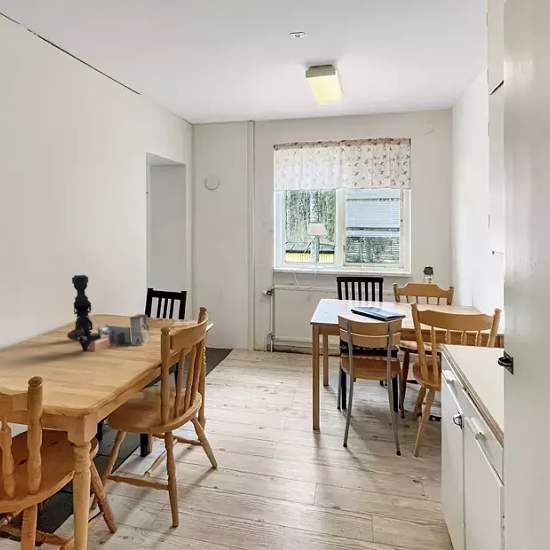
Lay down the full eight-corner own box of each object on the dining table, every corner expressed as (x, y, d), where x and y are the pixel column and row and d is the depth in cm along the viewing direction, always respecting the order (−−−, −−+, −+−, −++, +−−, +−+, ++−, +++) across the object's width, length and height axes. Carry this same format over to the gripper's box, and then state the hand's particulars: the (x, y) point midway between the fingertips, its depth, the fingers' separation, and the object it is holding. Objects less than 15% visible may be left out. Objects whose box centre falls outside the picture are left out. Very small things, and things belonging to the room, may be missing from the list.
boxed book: (89, 350, 225) (88, 338, 225) (103, 345, 234) (102, 334, 234) (95, 351, 224) (94, 339, 223) (109, 346, 233) (108, 335, 232)
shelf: (98, 342, 241) (96, 327, 240) (106, 339, 247) (105, 324, 246) (122, 345, 233) (121, 330, 232) (131, 342, 239) (130, 327, 238)
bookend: (116, 344, 236) (115, 334, 235) (123, 342, 240) (122, 332, 239) (122, 345, 234) (122, 335, 233) (129, 343, 238) (128, 333, 237)
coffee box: (139, 340, 243) (138, 314, 241) (149, 341, 242) (148, 314, 240) (131, 345, 234) (129, 317, 232) (141, 345, 233) (140, 317, 231)
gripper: (57, 324, 215) (59, 353, 217) (82, 328, 207) (85, 358, 209) (75, 320, 225) (77, 347, 227) (100, 323, 217) (102, 351, 219)
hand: (85, 351), depth 220 cm, fingers closed
